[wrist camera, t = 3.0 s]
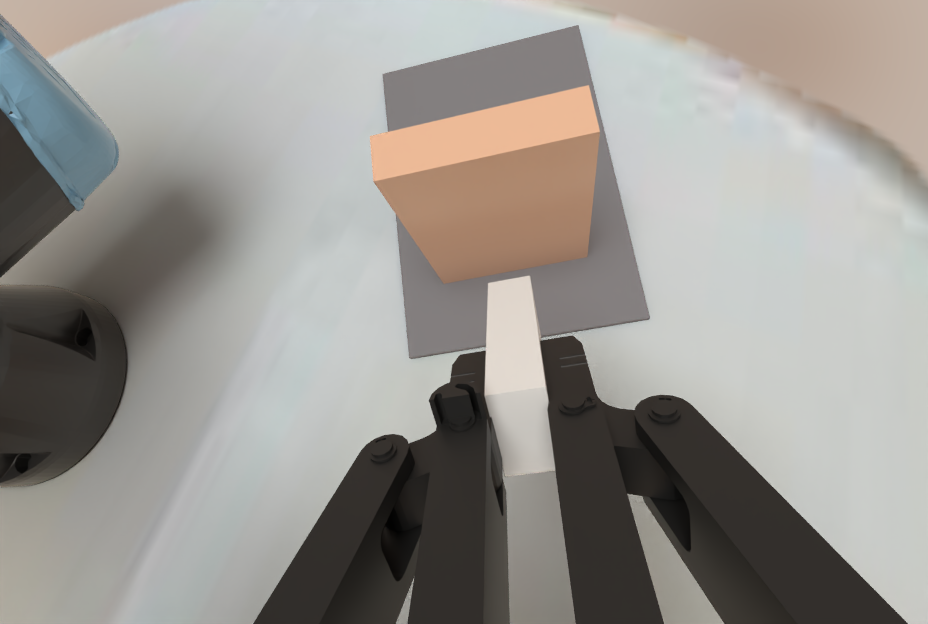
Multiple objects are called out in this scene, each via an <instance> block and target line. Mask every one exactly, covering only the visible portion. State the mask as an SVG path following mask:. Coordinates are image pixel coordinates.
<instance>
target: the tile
mask: <svg viewBox="0 0 928 624" xmlns="http://www.w3.org/2000/svg"><path fill="white" fill-rule="evenodd" d="M599 136H600V130H599V125H598V121H597V117H596V113H595V109H594V105H593V101H592V96H591V92H590V88H589V85H587V86H583V87H578V88H574V89H570V90H566V91H561V92H557V93H553V94H548V95H544V96H540V97H536V98H531V99H527V100H523V101H518V102H514V103H510V104H506V105H501V106H497V107H493V108H488V109H484V110H480V111H476V112H471V113H467V114H463V115H458V116H454V117H450V118H446V119H441V120H437V121H433V122H429V123H424V124H420V125H416V126H411V127H407V128H403V129H399V130H394V131H390V132H386V133H381V134H377V135H373V136H370V143H371V156H372V168H373V180H374V183H375V184H376V186H377V187H378V189H379V190H380V192H381V193H382V194H383V196H384V197H385V199H386V200H387V202H388V203H389V205H390V206H391V208H392V209H393V210H394V212H395V213H396V215H397V216H398V218H399V219H400V221H401V222H402V224H403V225H404V227H405V228H406V229H407V231H408V232H409V234H410V235H411V237H412V238H413V240H414V241H415V243H416V244H417V246H418V247H419V248H420V250H421V251H422V253H423V254H424V256H425V257H426V259H427V260H428V262H429V263H430V264H431V266H432V267H433V269H434V270H435V272H436V273H437V275H438V276H439V278H440V279H441V281H442V282H443V283H444V284H446V283H451V282H456V281H462V280H467V279H473V278H478V277H483V276H489V275H494V274H499V273H505V272H510V271H516V270H521V269H526V268H532V267H537V266H542V265H548V264H553V263H559V262H564V261H569V260H575V259H580V258H585V257H587V255H588V245H589V235H590V225H591V216H592V206H593V196H594V186H595V176H596V166H597V156H598V146H599Z"/></svg>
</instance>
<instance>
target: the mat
mask: <svg viewBox="0 0 928 624" xmlns="http://www.w3.org/2000/svg"><path fill="white" fill-rule="evenodd" d="M383 83H384V93H385V104H386V115H387V125H388V132H390V131H394V130H399V129H403V128H407V127H411V126H416V125H420V124H424V123H429V122H433V121H437V120H441V119H446V118H450V117H454V116H458V115H463V114H467V113H471V112H476V111H480V110H484V109H488V108H493V107H497V106H501V105H506V104H510V103H514V102H518V101H523V100H527V99H531V98H536V97H540V96H544V95H548V94H553V93H557V92H561V91H566V90H570V89H574V88H578V87H583V86H587V85H589V88H590V92H591V96H592V101H593V105H594V109H595V113H596V117H597V121H598V125H599V130H600V136H599V146H598V156H597V166H596V176H595V186H594V196H593V206H592V216H591V225H590V235H589V245H588V255H587V257H585V258H580V259H575V260H569V261H564V262H559V263H553V264H548V265H542V266H537V267H532V268H526V269H521V270H516V271H510V272H505V273H499V274H494V275H489V276H483V277H478V278H473V279H467V280H462V281H456V282H451V283H446V284H444V283H443V282H442V281H441V279H440V278H439V276H438V275H437V273H436V272H435V270H434V269H433V267H432V266H431V264H430V263H429V262H428V260H427V259H426V257H425V256H424V254H423V253H422V251H421V250H420V248H419V247H418V246H417V244H416V243H415V241H414V240H413V238H412V237H411V235H410V234H409V232H408V231H407V229H406V228H405V227H404V225H403V224H402V222H401V221H400V219H399V218H398V216H397V215H396V221H397V232H398V242H399V253H400V263H401V274H402V285H403V295H404V306H405V317H406V327H407V338H408V348H409V358H411V359H413V358H419V357H425V356H431V355H437V354H443V353H449V352H455V351H461V350H467V349H473V348H479V347H485V346H486V332H487V301H488V283H491V282H497V281H502V280H508V279H513V278H519V277H524V276H530V279H531V285H532V290H533V296H534V301H535V307H536V312H537V318H538V323H539V329H540V334H541V337H545V336H551V335H557V334H563V333H569V332H575V331H581V330H587V329H593V328H600V327H606V326H612V325H618V324H624V323H630V322H636V321H642V320H648V319H649V318H650V316H649V312H648V308H647V304H646V300H645V296H644V292H643V288H642V284H641V280H640V276H639V271H638V267H637V263H636V259H635V255H634V251H633V247H632V243H631V239H630V235H629V231H628V226H627V222H626V218H625V214H624V210H623V206H622V202H621V198H620V194H619V190H618V185H617V181H616V177H615V173H614V169H613V165H612V161H611V157H610V153H609V149H608V145H607V140H606V136H605V132H604V128H603V124H602V120H601V116H600V112H599V108H598V104H597V99H596V95H595V91H594V87H593V83H592V79H591V75H590V71H589V67H588V63H587V59H586V54H585V50H584V46H583V42H582V38H581V34H580V30H579V26H578V25H577V26H573V27H569V28H565V29H561V30H557V31H553V32H549V33H545V34H541V35H537V36H533V37H529V38H525V39H521V40H517V41H513V42H509V43H505V44H501V45H497V46H493V47H489V48H485V49H481V50H477V51H473V52H469V53H465V54H461V55H457V56H453V57H449V58H445V59H441V60H437V61H433V62H429V63H425V64H421V65H417V66H413V67H409V68H405V69H401V70H397V71H393V72H389V73H385V74H383Z"/></svg>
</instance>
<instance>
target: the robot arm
mask: <svg viewBox="0 0 928 624" xmlns="http://www.w3.org/2000/svg"><path fill="white" fill-rule="evenodd" d="M118 158H119V151H118V145H117V142H116V140H115V138H114V136H113V134H112V133H111V131H110V130H109V129H108V127H107V126H106V125H105V124H104V122H103V121H102V120H101V119H100V118H99V116H98V115H97V114H96V113H95V112H94V111H93V110H92V108H91V107H90V106H89V105H88V104H87V103H86V102H85V101H84V100H83V98H82V97H81V96H80V95H79V94H78V93H77V92H76V91H75V90H74V89H73V88H72V87H71V86H70V85H69V83H68V82H67V81H66V80H65V79H64V78H63V77H62V76H61V75H60V74H59V73H58V72H57V71H56V70H55V69H54V68H53V67H52V66H51V65H50V64H49V63H48V62H47V61H46V59H45V58H44V57H43V56H41V54H40V53H39V52H38V51H37V50H36V49H35V48H34V47H33V46H32V45H31V44H30V43H29V42H28V41H27V40H26V39H25V38H24V37H23V36H22V35H21V34H20V33H19V32H18V31H17V30H16V29H15V28H14V27H13V26H12V25H11V24H9V22H8V21H7V20H6V19H5V18H4V17H3V16H1V14H0V277H1V276H2V275H4V274H5V273H6V272H7V271H8V270H9V269H10V268H11V267H12V266H13V265H15V264H16V263H17V262H18V261H19V260H20V259H21V258H22V257H23V256H25V255H26V254H27V253H28V252H29V251H30V250H31V249H32V248H33V247H35V246H36V245H37V244H38V243H39V242H40V241H41V240H42V239H43V238H44V237H46V236H47V235H48V234H49V233H50V232H51V231H52V230H53V229H54V228H56V227H57V226H58V225H59V224H60V223H61V222H62V221H63V220H64V219H66V218H67V217H68V216H69V215H70V214H71V213H72V212H73V211H74V210H77V211H79V210H81V209H82V208H83V206H84V200H85V199H86V198H87V197H88V196H89V195H90V194H91V193H92V192H93V191H94V190H95V189H96V188H97V187H98V186H99V185H100V184H101V183H102V182H103V181H104V180H105V179H106V178H107V177H108V176H109V175H110V174H111V173H112V171H113V170H114V169H115V167H116V165H117V163H118ZM125 372H126V352H125V345H124V340H123V336H122V333H121V331H120V328H119V326H118V324H117V322H116V321H115V319H114V317H113V316H112V315H111V313H110V312H109V311H108V310H107V309H106V308H105V307H104V306H102V305H101V304H100V303H98V302H97V301H95V300H93V299H91V298H89V297H86V296H83V295H80V294H77V293H74V292H71V291H68V290H66V289H62V288H58V287H52V286H38V285H0V487H11V486H28V485H33V484H38V483H41V482H44V481H47V480H49V479H52V478H54V477H56V476H58V475H59V474H61V473H63V472H64V471H66V470H67V469H69V468H70V467H72V466H73V465H74V464H76V463H77V462H78V461H79V460H80V459H81V458H82V457H83V456H84V455H86V454H87V453H88V451H89V450H90V449H91V448H92V447H93V446H94V445H95V443H96V442H97V441H98V440H99V438H100V437H101V435H102V434H103V432H104V431H105V429H106V428H107V426H108V424H109V422H110V421H111V419H112V417H113V415H114V413H115V410H116V408H117V405H118V403H119V400H120V397H121V393H122V390H123V385H124V380H125ZM429 402H430V406H431V409H432V412H433V415H434V418H435V421H436V425H437V428H436V431H435V432H433V433H432V434H431V435H429V436H427V437H425V438H423V439H420V440H417V441H415V442H412V443H409V444H408V441H407V439H405V438H404V437H403V436H400V435H395V434H391V435H384V436H381V437H378V438H376V439H374V440H373V441H371V442H370V443H368V444H367V445H366V446H365V447H364V448H363V449H362V450H361V452H360V453H359V455H358V456H357V458H356V460H355V461H354V463H353V464H352V466H351V468H350V469H349V471H348V472H347V474H346V476H345V477H344V479H343V480H342V482H341V484H340V485H339V487H338V489H337V490H336V492H335V493H334V495H333V497H332V498H331V500H330V501H329V503H328V505H327V506H326V508H325V509H324V511H323V513H322V514H321V516H320V517H319V519H318V521H317V522H316V524H315V525H314V527H313V529H312V530H311V532H310V533H309V535H308V537H307V538H306V540H305V541H304V543H303V545H302V546H301V548H300V549H299V551H298V553H297V554H296V556H295V558H294V559H293V561H292V562H291V564H290V566H289V567H288V569H287V570H286V572H285V574H284V575H283V577H282V578H281V580H280V582H279V583H278V585H277V586H276V588H275V590H274V591H273V593H272V594H271V596H270V598H269V599H268V601H267V602H266V604H265V606H264V607H263V609H262V610H261V612H260V614H259V615H258V617H257V619H256V620H255V622H254V623H253V624H396V621H397V619H398V616H399V613H400V611H401V608H402V606H403V603H404V601H405V598H406V596H407V593H408V591H409V588H410V586H411V583H412V581H413V578H414V583H413V590H412V597H411V604H410V610H409V617H408V624H510V622H509V583H508V545H507V506H506V490H505V486H504V482H503V476H502V467H503V471H504V475H505V477H508V476H516V475H524V474H532V473H540V472H548V471H556V478H557V485H558V493H559V500H560V508H561V515H562V523H563V530H564V538H565V545H566V553H567V560H568V567H569V575H570V582H571V590H572V597H573V605H574V612H575V620H576V624H664V622H663V619H662V615H661V612H660V608H659V605H658V601H657V598H656V594H655V591H654V587H653V583H652V580H651V576H650V573H649V569H648V566H647V562H646V559H645V555H644V552H643V548H642V545H641V541H640V538H639V534H638V531H637V527H636V524H635V520H634V517H633V513H632V510H631V506H630V503H629V499H628V495H627V494H633V495H639V496H643V499H644V502H645V503H646V505H647V507H648V508H649V510H650V511H651V513H652V514H653V516H654V517H655V519H656V520H657V522H658V523H659V525H660V526H661V528H662V529H663V531H664V532H665V534H666V535H667V537H668V539H669V540H670V542H671V543H672V545H673V546H674V548H675V549H676V551H677V552H678V554H679V555H680V557H681V558H682V560H683V561H684V563H685V564H686V566H687V567H688V569H689V571H690V572H691V574H692V575H693V577H694V578H695V580H696V581H697V583H698V584H699V586H700V587H701V589H702V590H703V592H704V593H705V595H706V596H707V598H708V599H709V601H710V603H711V604H712V606H713V607H714V609H715V610H716V612H717V613H718V615H719V616H720V618H721V619H722V621H723V622H724V624H908V623H907V622H906V621H905V620H904V619H903V618H902V617H901V616H900V615H899V614H898V613H897V612H896V611H895V610H894V609H893V608H892V607H891V606H890V605H889V604H888V603H887V602H886V601H885V600H884V599H883V598H882V597H881V596H880V595H879V594H878V593H877V592H876V591H875V590H874V589H873V588H872V587H871V586H870V585H869V584H868V583H867V582H866V581H865V580H864V579H863V578H862V577H861V576H860V575H859V574H858V573H857V572H856V571H855V570H854V569H853V568H852V567H851V566H850V565H849V564H848V563H847V562H846V561H845V560H844V559H843V558H842V557H841V556H840V555H839V554H838V553H837V552H836V551H835V550H834V549H833V548H832V547H831V546H830V544H829V543H828V542H827V541H826V540H825V539H824V538H823V537H822V536H821V535H820V534H819V533H818V532H817V531H816V530H815V529H814V528H813V527H812V526H811V525H810V524H809V523H808V522H807V521H806V520H805V519H804V518H803V517H802V516H801V515H800V514H799V513H798V512H797V511H796V510H795V509H794V508H793V507H792V506H791V505H790V504H789V503H788V502H787V501H786V500H785V499H784V498H783V497H782V496H781V495H780V494H779V493H778V492H777V491H776V490H775V489H774V488H773V487H772V486H771V485H770V484H769V483H768V482H767V481H766V480H765V479H764V478H763V477H762V476H761V475H760V474H759V473H758V472H757V471H756V470H755V469H754V468H753V467H752V466H751V465H750V464H749V463H748V462H747V461H746V460H745V459H744V458H743V457H742V456H741V454H740V453H739V452H738V451H737V450H736V449H735V448H734V447H733V446H732V445H731V444H730V443H729V442H728V441H727V440H726V439H725V438H724V437H723V436H722V435H721V434H720V433H719V432H718V431H717V430H716V429H715V428H714V427H713V426H712V425H711V424H710V423H709V422H708V421H707V420H706V419H705V418H704V417H703V416H702V415H701V414H700V413H699V412H698V411H697V410H696V409H695V408H694V407H693V406H692V405H691V404H690V403H688V402H687V401H685V400H684V399H681V398H678V397H675V396H670V395H657V396H651V397H648V398H646V399H644V400H642V401H641V402H640V403H639V404H638V405H637V406H636V408H635V410H626V409H619V408H615V407H612V406H609V405H607V404H605V403H604V402H602V401H601V400H600V399H599V398H598V396H597V394H596V392H595V388H594V385H593V381H592V378H591V374H590V371H589V367H588V364H587V360H586V356H585V353H584V349H583V346H582V343H581V342H580V341H578V340H577V339H576V338H575V337H574V336H567V337H561V338H554V339H548V340H541V334H540V329H539V323H538V318H537V312H536V307H535V301H534V296H533V290H532V285H531V279H530V276H524V277H519V278H513V279H508V280H502V281H497V282H491V283H488V301H487V332H486V351H481V352H475V353H469V354H463V355H460V356H459V357H458V358H457V360H456V361H455V362H454V364H453V365H452V372H451V379H450V383H447V384H445V385H443V386H441V387H439V388H438V389H437V390H436V391H435V392H434V393H432V395H431V397H430V399H429ZM414 575H415V577H414Z"/></svg>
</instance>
